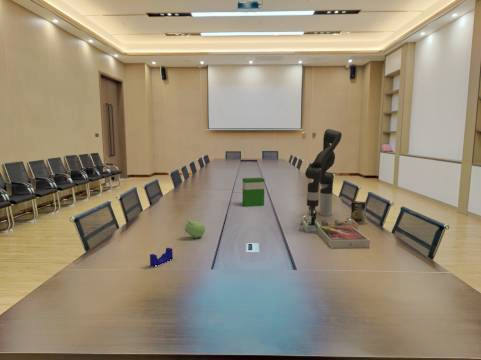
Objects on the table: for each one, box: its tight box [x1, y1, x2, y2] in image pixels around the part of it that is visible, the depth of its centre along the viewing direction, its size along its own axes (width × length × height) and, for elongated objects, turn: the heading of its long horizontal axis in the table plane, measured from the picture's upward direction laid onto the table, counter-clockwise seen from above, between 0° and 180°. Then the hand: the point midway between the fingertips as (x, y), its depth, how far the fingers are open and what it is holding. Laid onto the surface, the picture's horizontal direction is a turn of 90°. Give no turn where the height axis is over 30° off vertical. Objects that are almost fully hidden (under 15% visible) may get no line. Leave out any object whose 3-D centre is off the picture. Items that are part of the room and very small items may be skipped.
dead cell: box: [345, 217, 354, 224], centre depth 219 cm, size 5×5×7 cm
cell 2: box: [307, 214, 317, 226], centre depth 219 cm, size 5×5×7 cm
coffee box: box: [350, 200, 367, 225], centre depth 231 cm, size 9×6×16 cm
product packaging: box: [316, 225, 371, 249], centre depth 199 cm, size 22×28×5 cm
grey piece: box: [302, 219, 362, 233], centre depth 219 cm, size 11×36×6 cm, turn 89°
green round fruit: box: [183, 220, 206, 239], centre depth 202 cm, size 12×11×11 cm
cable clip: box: [149, 247, 174, 268], centre depth 164 cm, size 12×4×6 cm, turn 147°
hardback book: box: [242, 177, 265, 208], centre depth 291 cm, size 18×7×24 cm, turn 107°
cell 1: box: [299, 214, 308, 226], centre depth 232 cm, size 5×5×7 cm
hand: (311, 223), depth 219 cm, fingers closed on cell 2, 4 cm apart
